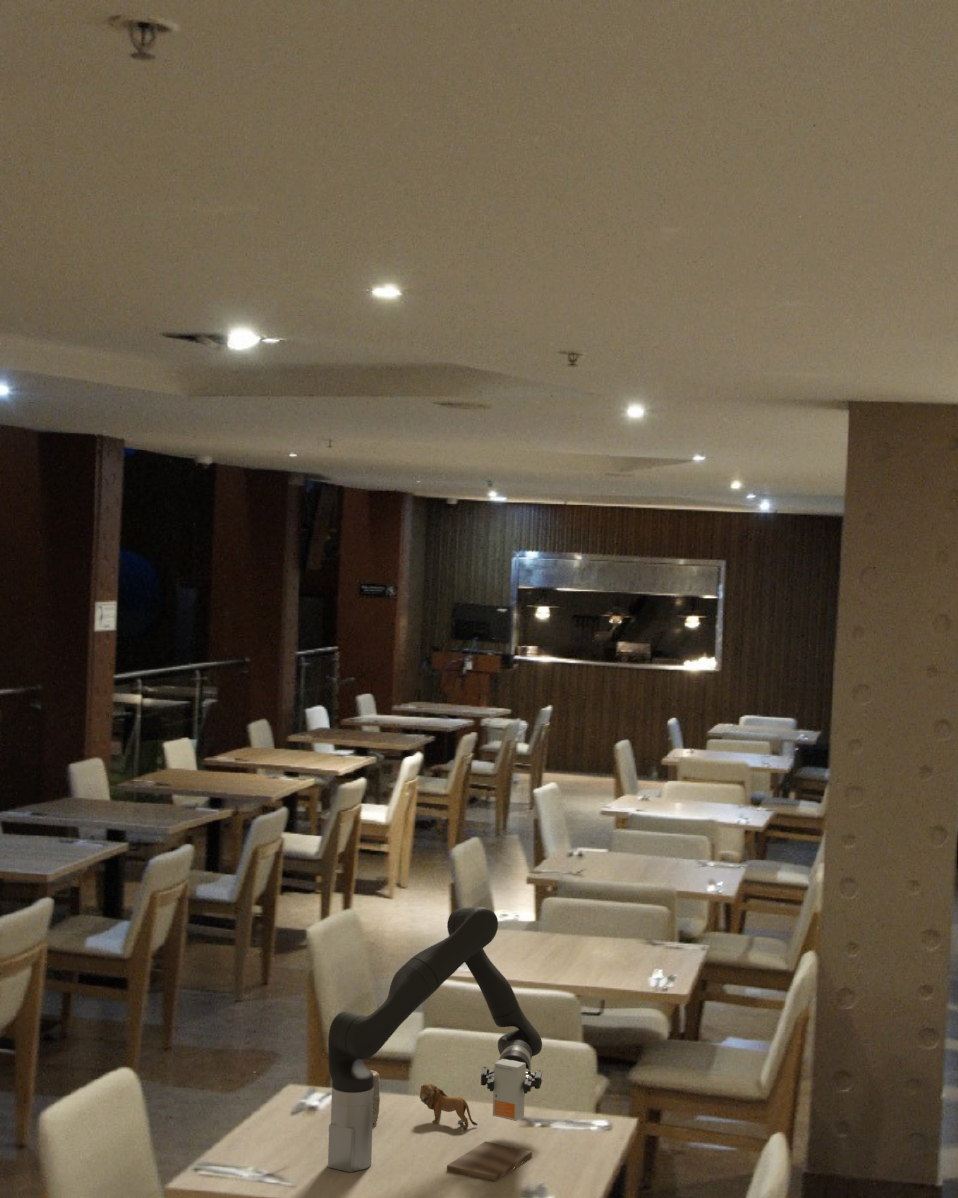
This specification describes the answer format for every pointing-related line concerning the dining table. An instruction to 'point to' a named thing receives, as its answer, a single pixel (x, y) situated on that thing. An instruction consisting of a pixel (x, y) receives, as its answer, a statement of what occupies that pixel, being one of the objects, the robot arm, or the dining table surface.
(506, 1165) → the walnut board
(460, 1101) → the lion figurine
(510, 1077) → the skincare box
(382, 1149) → the dining table surface
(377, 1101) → the carving
